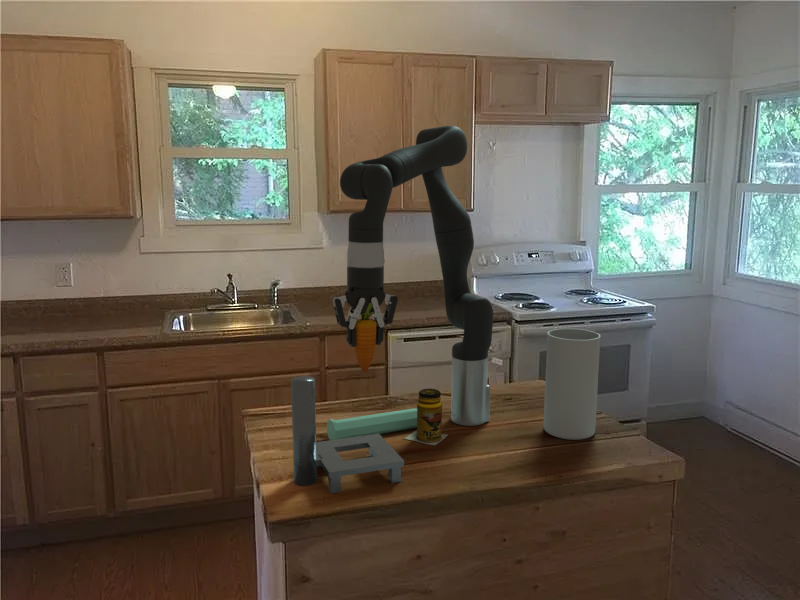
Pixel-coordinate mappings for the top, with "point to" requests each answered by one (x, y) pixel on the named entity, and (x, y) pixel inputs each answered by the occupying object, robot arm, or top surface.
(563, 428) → the cylinder vase
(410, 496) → the top surface
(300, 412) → the square hole stand
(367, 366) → the carrot
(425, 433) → the condiment
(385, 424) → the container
